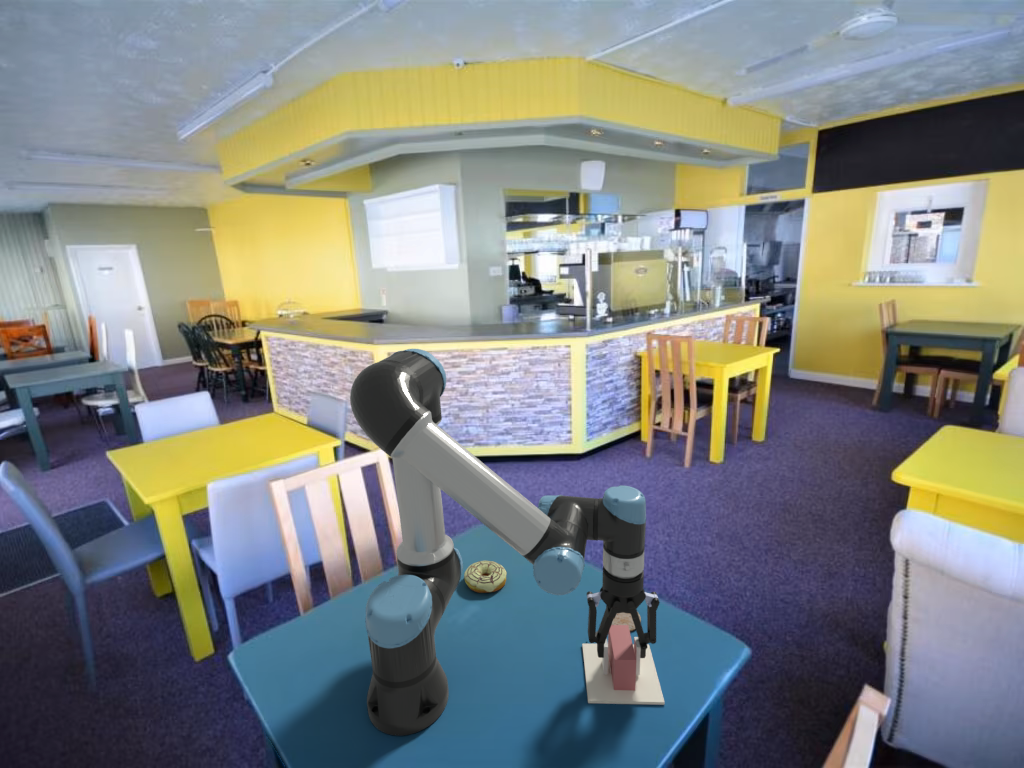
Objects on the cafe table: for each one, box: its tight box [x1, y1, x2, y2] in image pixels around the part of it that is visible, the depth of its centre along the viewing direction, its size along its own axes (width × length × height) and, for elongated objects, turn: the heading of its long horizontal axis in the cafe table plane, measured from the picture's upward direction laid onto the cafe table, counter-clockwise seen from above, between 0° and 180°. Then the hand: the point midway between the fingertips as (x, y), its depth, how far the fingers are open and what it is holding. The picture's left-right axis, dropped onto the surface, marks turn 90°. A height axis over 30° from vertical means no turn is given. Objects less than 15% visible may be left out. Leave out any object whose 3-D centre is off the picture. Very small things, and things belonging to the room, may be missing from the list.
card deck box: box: [607, 625, 636, 690], centre depth 99 cm, size 9×4×7 cm, turn 177°
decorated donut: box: [463, 560, 507, 594], centre depth 129 cm, size 10×11×4 cm
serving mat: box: [581, 643, 665, 706], centre depth 100 cm, size 14×14×1 cm
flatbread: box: [612, 612, 642, 632], centre depth 114 cm, size 8×8×1 cm
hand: (620, 668), depth 100 cm, fingers open, 5 cm apart
